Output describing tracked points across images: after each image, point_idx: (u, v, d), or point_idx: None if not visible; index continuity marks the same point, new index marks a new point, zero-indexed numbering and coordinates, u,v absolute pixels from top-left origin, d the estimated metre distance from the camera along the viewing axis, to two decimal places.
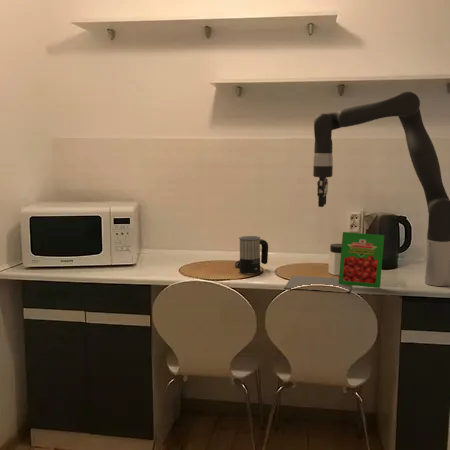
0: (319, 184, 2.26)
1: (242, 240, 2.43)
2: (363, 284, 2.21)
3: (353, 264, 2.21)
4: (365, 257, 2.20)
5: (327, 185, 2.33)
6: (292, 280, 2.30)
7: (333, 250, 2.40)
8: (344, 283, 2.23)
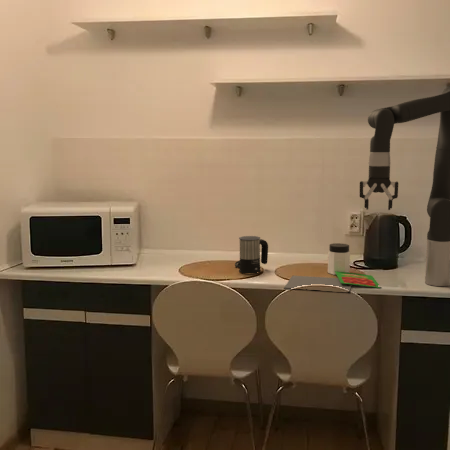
0: None
1: (242, 240, 2.43)
2: (365, 285, 2.21)
3: (350, 278, 2.28)
4: (360, 277, 2.31)
5: None
6: (292, 280, 2.30)
7: (332, 250, 2.41)
8: (346, 283, 2.21)
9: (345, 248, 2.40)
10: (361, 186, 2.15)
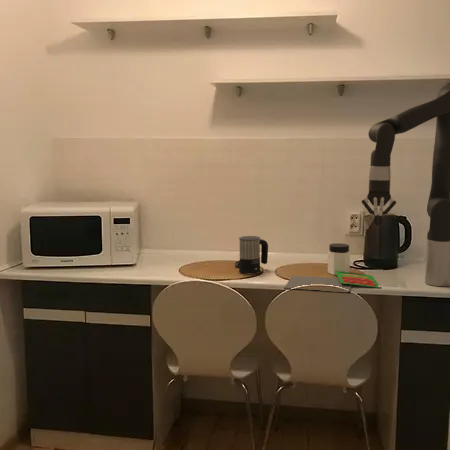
0: None
1: (242, 240, 2.43)
2: (365, 285, 2.21)
3: (350, 278, 2.28)
4: (360, 277, 2.31)
5: None
6: (292, 280, 2.30)
7: (332, 250, 2.41)
8: (346, 283, 2.21)
9: (345, 248, 2.40)
10: (365, 204, 2.16)
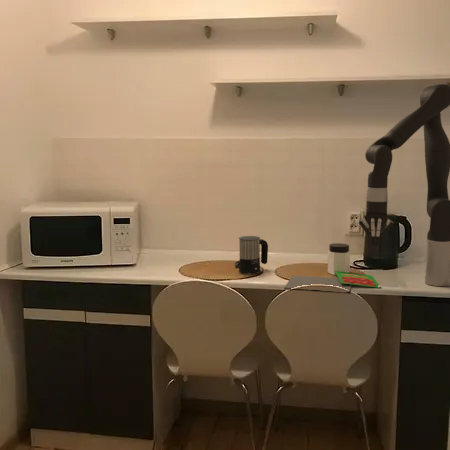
0: None
1: (242, 240, 2.43)
2: (365, 285, 2.21)
3: (350, 278, 2.28)
4: (360, 277, 2.31)
5: None
6: (292, 280, 2.30)
7: (332, 250, 2.41)
8: (346, 283, 2.21)
9: (345, 248, 2.40)
10: (362, 225, 2.17)
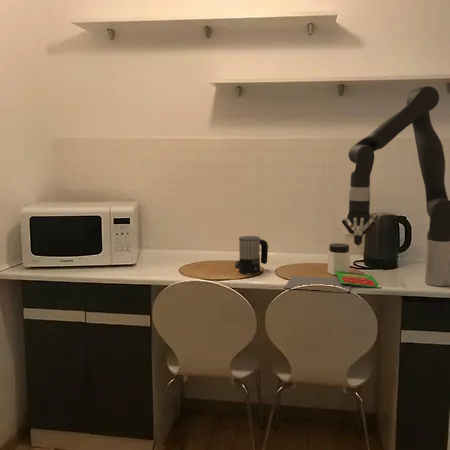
0: (373, 225, 2.17)
1: (242, 240, 2.43)
2: (365, 285, 2.21)
3: (350, 278, 2.28)
4: (360, 277, 2.31)
5: None
6: (292, 280, 2.30)
7: (332, 250, 2.41)
8: (346, 283, 2.21)
9: (345, 248, 2.40)
10: (345, 224, 2.19)
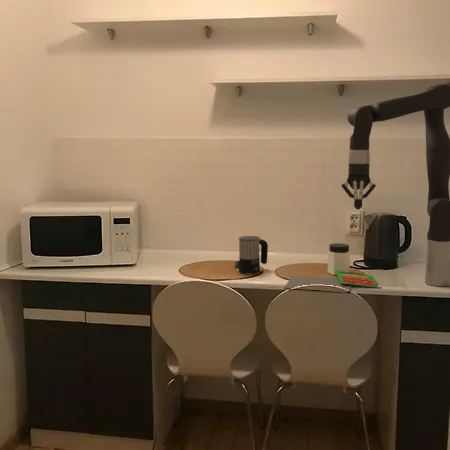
0: (373, 188, 2.15)
1: (241, 240, 2.43)
2: (365, 285, 2.21)
3: (350, 278, 2.28)
4: (360, 277, 2.31)
5: None
6: (292, 280, 2.30)
7: (332, 250, 2.41)
8: (346, 283, 2.21)
9: (345, 248, 2.40)
10: (345, 188, 2.17)
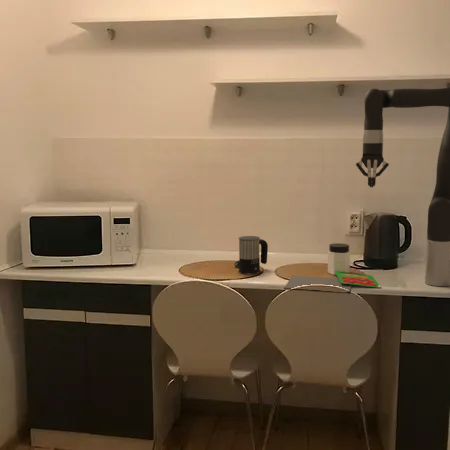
0: (386, 167, 2.25)
1: (241, 240, 2.43)
2: (365, 285, 2.21)
3: (350, 278, 2.28)
4: (360, 277, 2.31)
5: None
6: (292, 280, 2.30)
7: (332, 250, 2.41)
8: (346, 283, 2.21)
9: (345, 248, 2.40)
10: (359, 166, 2.27)
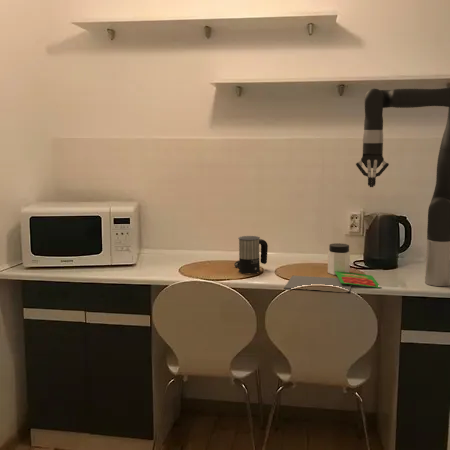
0: (386, 167, 2.25)
1: (241, 240, 2.43)
2: (365, 285, 2.21)
3: (350, 278, 2.28)
4: (360, 277, 2.31)
5: None
6: (292, 280, 2.30)
7: (332, 250, 2.41)
8: (346, 283, 2.21)
9: (345, 248, 2.40)
10: (359, 166, 2.27)
